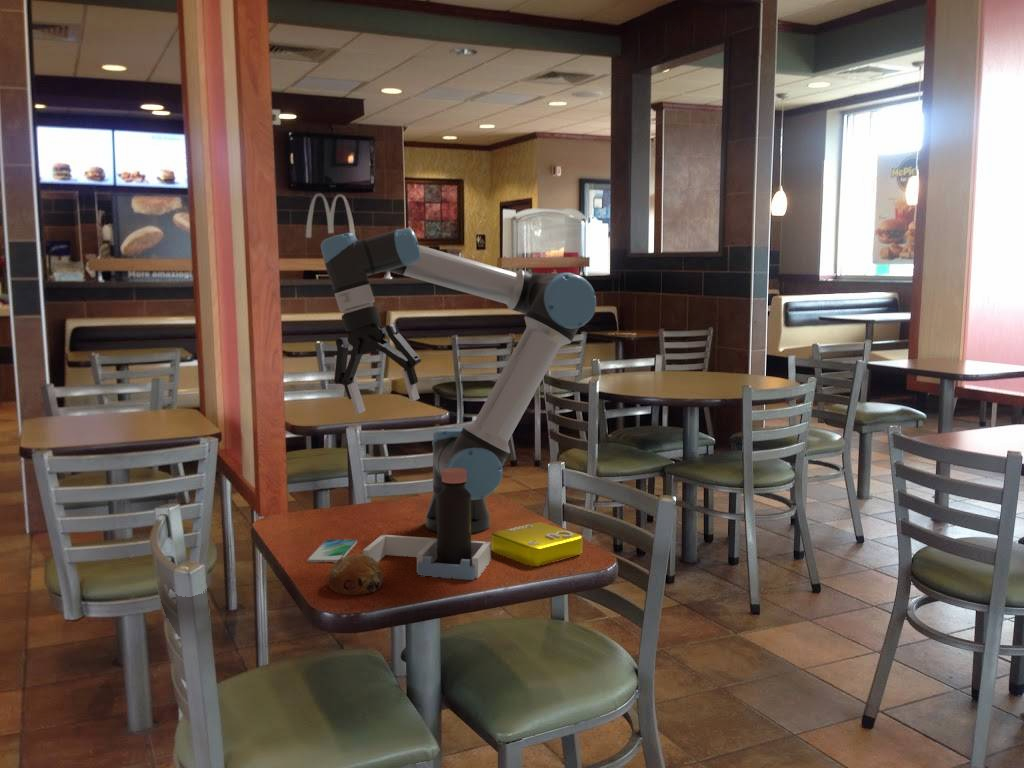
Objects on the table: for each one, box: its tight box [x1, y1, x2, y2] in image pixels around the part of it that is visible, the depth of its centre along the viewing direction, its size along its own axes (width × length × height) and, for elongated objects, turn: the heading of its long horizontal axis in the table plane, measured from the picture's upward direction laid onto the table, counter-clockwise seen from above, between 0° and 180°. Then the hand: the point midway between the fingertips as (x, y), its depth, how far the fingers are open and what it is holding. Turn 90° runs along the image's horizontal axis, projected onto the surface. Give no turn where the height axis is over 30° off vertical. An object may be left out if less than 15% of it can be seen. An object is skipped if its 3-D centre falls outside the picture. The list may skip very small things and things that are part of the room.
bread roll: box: [328, 553, 384, 596], centre depth 168 cm, size 10×10×8 cm
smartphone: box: [306, 538, 358, 564], centre depth 190 cm, size 7×1×15 cm
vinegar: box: [436, 468, 472, 566], centre depth 179 cm, size 7×7×20 cm
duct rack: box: [362, 534, 492, 581], centre depth 180 cm, size 12×24×4 cm, turn 78°
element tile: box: [491, 521, 584, 567], centre depth 190 cm, size 15×15×5 cm
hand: (387, 406), depth 187 cm, fingers open, 13 cm apart
